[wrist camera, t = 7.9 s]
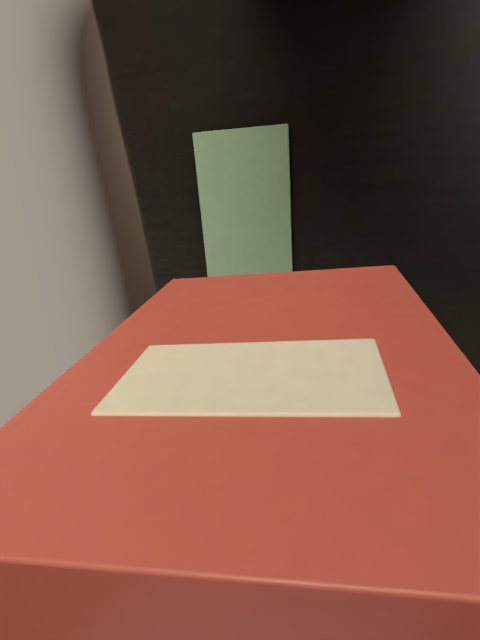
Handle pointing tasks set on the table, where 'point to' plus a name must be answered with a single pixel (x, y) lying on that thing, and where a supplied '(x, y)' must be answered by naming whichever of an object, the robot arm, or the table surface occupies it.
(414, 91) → the table surface
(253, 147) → the mat
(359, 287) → the packet
